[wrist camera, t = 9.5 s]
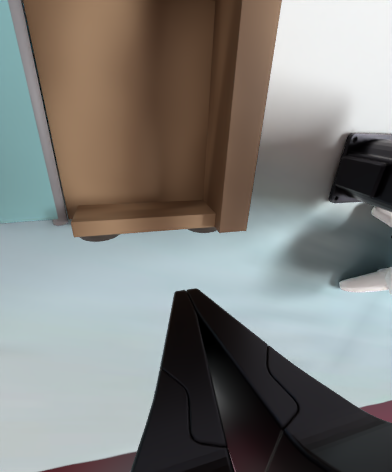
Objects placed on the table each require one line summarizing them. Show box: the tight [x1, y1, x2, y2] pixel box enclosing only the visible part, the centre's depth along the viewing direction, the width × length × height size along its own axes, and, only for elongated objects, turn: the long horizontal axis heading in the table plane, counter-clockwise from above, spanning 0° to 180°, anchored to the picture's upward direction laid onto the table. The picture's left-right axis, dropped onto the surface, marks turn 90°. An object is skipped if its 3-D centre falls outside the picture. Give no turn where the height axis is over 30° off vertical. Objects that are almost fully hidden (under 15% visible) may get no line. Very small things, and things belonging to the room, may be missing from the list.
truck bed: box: [23, 0, 282, 242], centre depth 15 cm, size 12×16×6 cm
